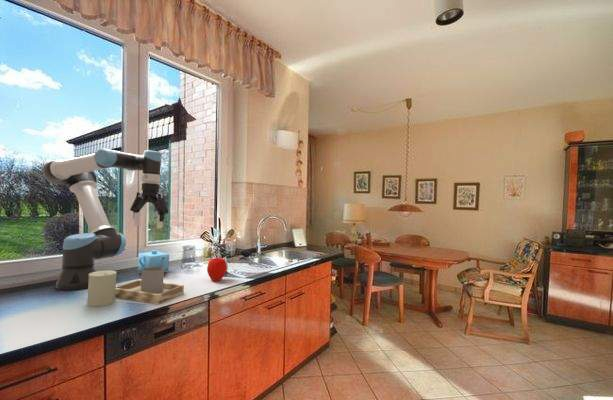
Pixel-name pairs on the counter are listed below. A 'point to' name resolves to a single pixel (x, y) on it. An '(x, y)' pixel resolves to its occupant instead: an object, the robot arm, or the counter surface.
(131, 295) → the box
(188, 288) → the counter surface
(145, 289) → the cup
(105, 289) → the can
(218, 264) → the apple
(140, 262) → the teapot
